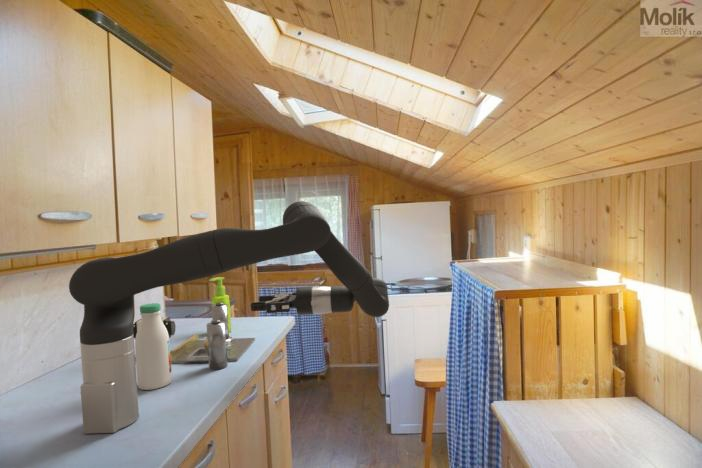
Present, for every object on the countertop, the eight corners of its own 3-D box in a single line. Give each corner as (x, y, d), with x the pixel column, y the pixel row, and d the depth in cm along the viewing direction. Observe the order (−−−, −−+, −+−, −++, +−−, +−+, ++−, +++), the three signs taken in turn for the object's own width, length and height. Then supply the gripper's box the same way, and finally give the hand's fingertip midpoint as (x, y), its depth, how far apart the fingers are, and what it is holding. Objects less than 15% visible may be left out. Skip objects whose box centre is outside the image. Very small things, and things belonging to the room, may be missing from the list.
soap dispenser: (208, 334, 147) (204, 278, 146) (224, 329, 153) (221, 275, 152) (218, 336, 144) (215, 279, 143) (234, 331, 149) (231, 276, 149)
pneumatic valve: (172, 355, 125) (170, 316, 124) (131, 358, 123) (129, 319, 123) (178, 349, 130) (175, 312, 130) (139, 353, 129) (136, 315, 128)
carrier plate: (236, 361, 116) (233, 314, 116) (166, 364, 117) (163, 316, 116) (255, 340, 137) (252, 299, 136) (195, 342, 137) (193, 302, 137)
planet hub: (224, 369, 111) (221, 322, 110) (206, 370, 111) (203, 323, 110) (229, 363, 115) (227, 318, 115) (212, 363, 116) (210, 318, 115)
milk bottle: (167, 389, 99) (162, 306, 98) (133, 392, 98) (127, 309, 97) (175, 377, 107) (170, 300, 106) (143, 380, 106) (138, 302, 105)
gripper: (316, 282, 119) (260, 285, 119) (310, 291, 105) (247, 294, 105) (318, 308, 119) (262, 311, 120) (312, 320, 105) (249, 323, 105)
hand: (255, 303), depth 112 cm, fingers open, 8 cm apart
